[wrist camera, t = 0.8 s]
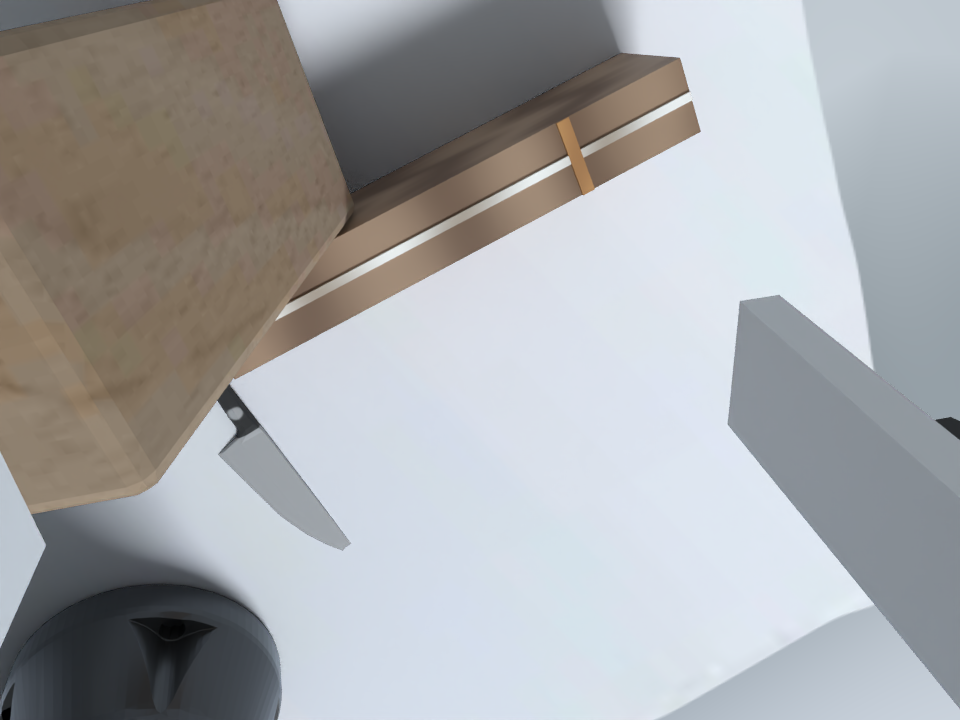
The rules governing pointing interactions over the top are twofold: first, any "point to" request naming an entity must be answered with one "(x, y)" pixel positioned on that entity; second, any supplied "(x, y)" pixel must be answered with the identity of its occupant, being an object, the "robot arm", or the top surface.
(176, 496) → the top surface
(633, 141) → the brown wooden bar
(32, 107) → the wooden block
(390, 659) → the top surface
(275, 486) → the chef's knife
